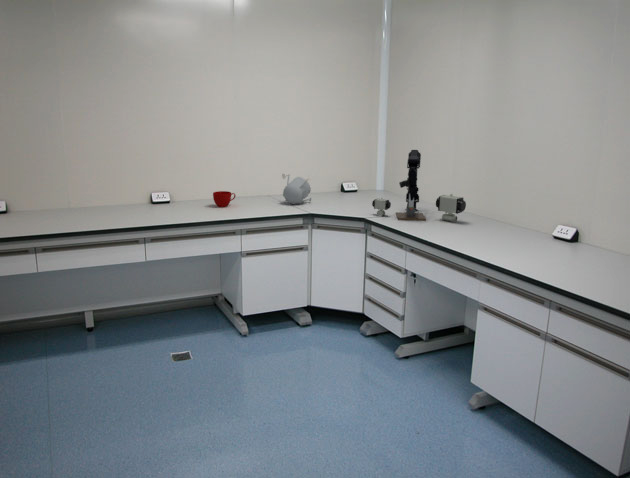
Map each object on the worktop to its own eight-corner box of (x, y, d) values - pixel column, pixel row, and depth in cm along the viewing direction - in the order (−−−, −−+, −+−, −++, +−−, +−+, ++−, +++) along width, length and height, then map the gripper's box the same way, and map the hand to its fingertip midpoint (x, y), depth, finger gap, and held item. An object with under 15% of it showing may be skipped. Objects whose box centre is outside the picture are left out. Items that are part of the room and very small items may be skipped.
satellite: (272, 181, 397) (301, 187, 385) (287, 168, 410) (315, 174, 398) (278, 207, 410) (306, 214, 398) (292, 194, 423) (319, 200, 411)
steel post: (408, 208, 363) (409, 193, 361) (412, 209, 363) (413, 193, 360) (408, 209, 360) (409, 194, 358) (413, 210, 360) (414, 194, 357)
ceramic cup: (239, 206, 393) (239, 192, 391) (217, 208, 384) (217, 194, 382) (231, 203, 404) (231, 190, 401) (210, 205, 395) (209, 192, 392)
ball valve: (465, 222, 351) (467, 195, 347) (459, 224, 345) (461, 196, 341) (440, 218, 363) (442, 191, 358) (434, 220, 357) (436, 193, 352)
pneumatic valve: (387, 217, 364) (388, 199, 361) (371, 215, 369) (372, 197, 366) (390, 215, 368) (391, 198, 365) (374, 213, 374) (375, 196, 371)
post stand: (395, 214, 372) (396, 204, 370) (422, 215, 371) (422, 205, 369) (398, 220, 355) (398, 209, 353) (425, 220, 354) (426, 210, 352)
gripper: (399, 174, 365) (397, 197, 369) (401, 178, 347) (400, 202, 351) (415, 174, 365) (414, 197, 369) (419, 178, 347) (417, 202, 351)
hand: (411, 200), depth 360 cm, fingers closed on steel post, 3 cm apart
